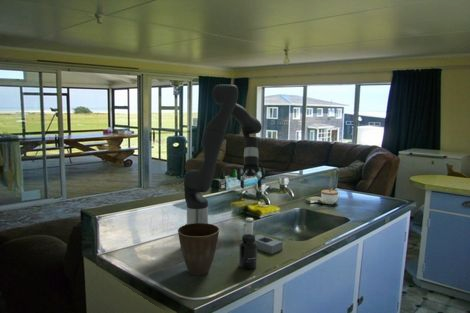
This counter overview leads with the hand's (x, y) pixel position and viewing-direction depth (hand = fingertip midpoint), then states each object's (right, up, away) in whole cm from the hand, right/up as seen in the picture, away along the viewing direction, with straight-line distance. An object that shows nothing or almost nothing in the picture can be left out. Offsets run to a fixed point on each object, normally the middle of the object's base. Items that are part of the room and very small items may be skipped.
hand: (250, 188), depth 183 cm
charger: (-1, -22, -16) cm, 27 cm away
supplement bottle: (-3, -26, -46) cm, 53 cm away
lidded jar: (+53, -15, +52) cm, 76 cm away
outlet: (+5, -24, -27) cm, 36 cm away
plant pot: (-21, -26, -50) cm, 61 cm away
